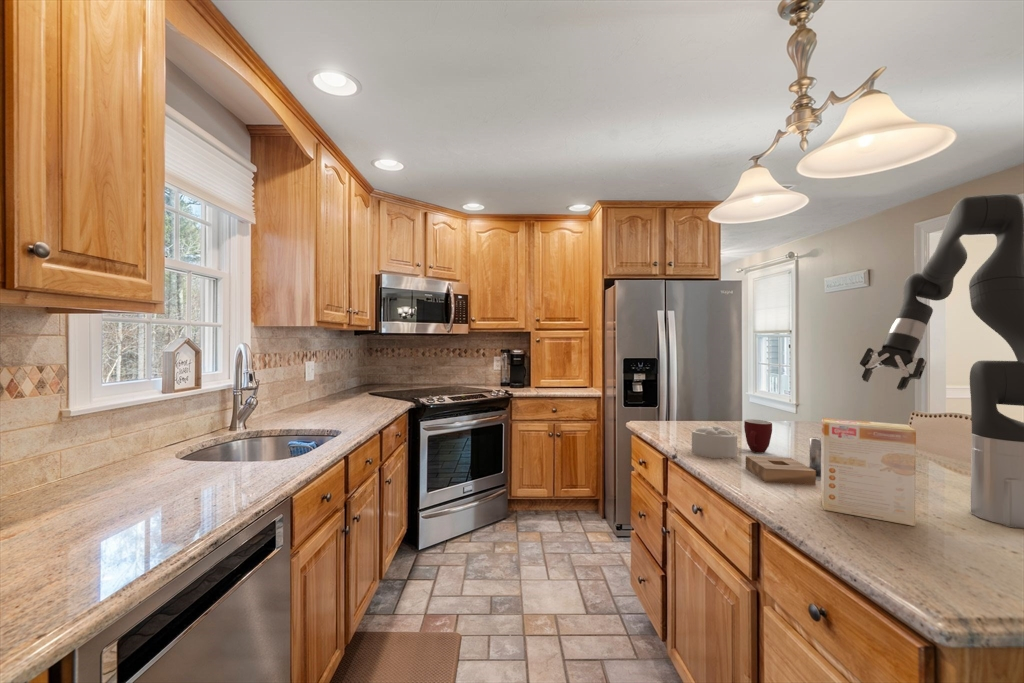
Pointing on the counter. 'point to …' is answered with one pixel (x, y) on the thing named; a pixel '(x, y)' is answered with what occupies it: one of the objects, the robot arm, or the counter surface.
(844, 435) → the coffeecake box
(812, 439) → the pin
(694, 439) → the lumpy-topped squat cylinder
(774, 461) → the hole block
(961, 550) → the counter surface
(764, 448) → the mug
